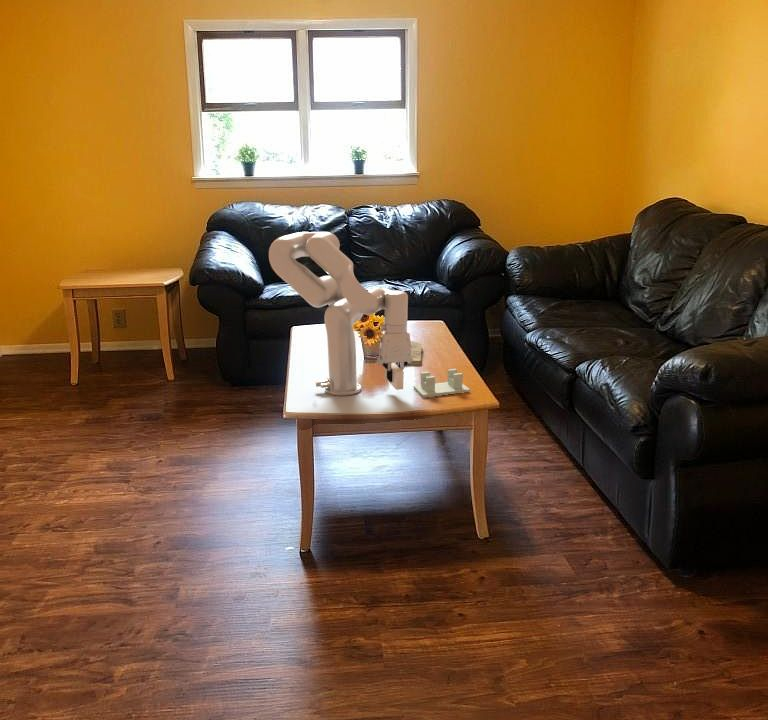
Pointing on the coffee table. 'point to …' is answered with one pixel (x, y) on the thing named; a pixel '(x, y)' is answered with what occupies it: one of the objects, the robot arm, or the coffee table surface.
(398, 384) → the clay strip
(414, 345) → the stone slab
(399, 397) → the coffee table surface
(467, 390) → the grey mounting plate
